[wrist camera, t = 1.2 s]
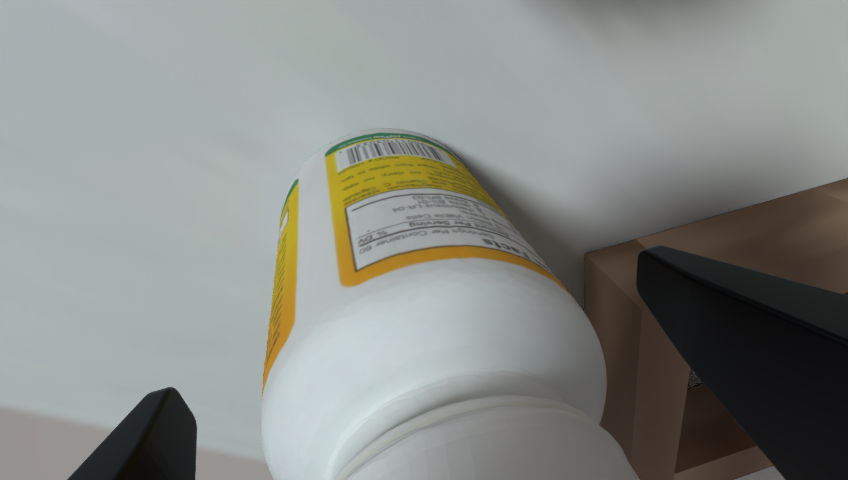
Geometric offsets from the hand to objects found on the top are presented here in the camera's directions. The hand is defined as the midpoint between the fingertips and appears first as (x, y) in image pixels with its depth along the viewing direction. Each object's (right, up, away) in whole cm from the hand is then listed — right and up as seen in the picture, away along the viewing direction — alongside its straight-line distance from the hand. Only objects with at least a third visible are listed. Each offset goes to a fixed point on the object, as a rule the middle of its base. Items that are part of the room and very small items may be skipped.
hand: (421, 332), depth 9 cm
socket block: (+11, -2, +9) cm, 14 cm away
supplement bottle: (-1, +2, +4) cm, 5 cm away
